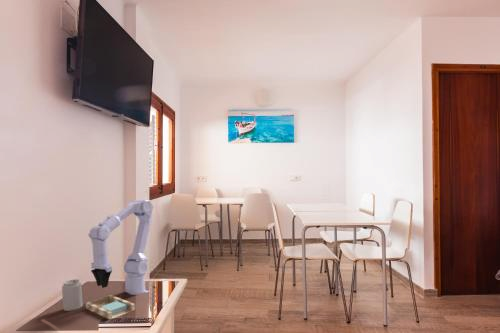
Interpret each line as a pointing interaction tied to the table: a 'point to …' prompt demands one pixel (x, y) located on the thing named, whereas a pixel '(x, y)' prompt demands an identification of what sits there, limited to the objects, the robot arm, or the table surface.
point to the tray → (96, 304)
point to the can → (72, 295)
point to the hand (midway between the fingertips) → (102, 286)
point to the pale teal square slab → (115, 307)
